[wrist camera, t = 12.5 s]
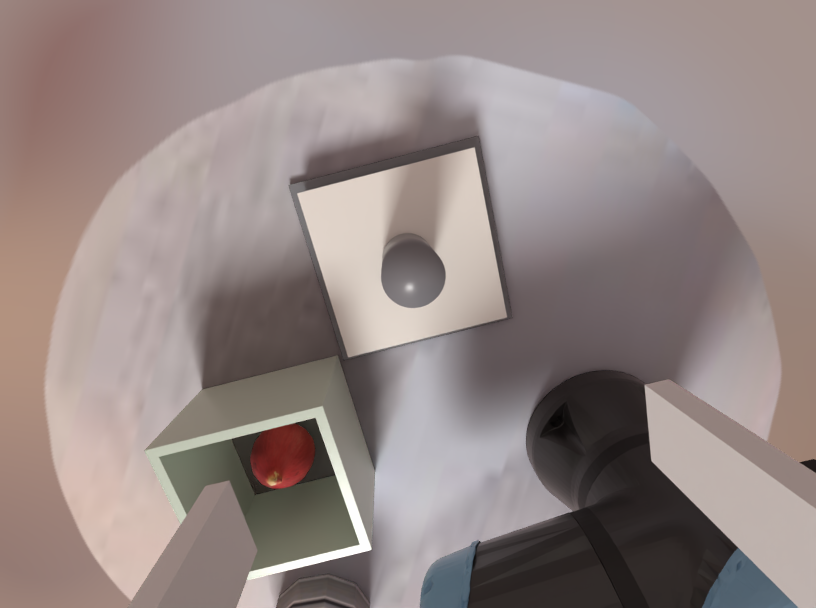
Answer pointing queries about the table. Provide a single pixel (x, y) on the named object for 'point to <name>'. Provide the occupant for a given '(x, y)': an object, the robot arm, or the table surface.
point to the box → (287, 507)
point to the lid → (406, 252)
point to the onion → (282, 456)
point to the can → (323, 594)
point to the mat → (382, 167)
